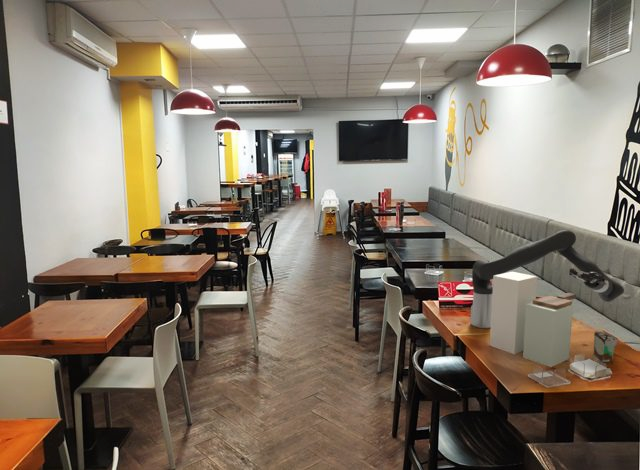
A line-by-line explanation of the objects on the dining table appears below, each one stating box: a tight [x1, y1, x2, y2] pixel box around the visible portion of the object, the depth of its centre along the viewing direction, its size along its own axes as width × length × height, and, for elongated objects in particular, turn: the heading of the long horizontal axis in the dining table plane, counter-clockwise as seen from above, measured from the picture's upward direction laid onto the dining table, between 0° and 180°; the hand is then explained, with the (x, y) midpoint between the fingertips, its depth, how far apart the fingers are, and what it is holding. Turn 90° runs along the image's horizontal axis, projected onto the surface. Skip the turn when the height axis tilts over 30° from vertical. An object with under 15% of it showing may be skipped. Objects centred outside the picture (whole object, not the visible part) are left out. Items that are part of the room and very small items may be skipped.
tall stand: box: [489, 271, 538, 355], centre depth 204 cm, size 12×14×32 cm
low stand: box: [522, 302, 574, 368], centre depth 192 cm, size 12×14×23 cm
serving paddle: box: [533, 292, 577, 309], centre depth 194 cm, size 10×22×2 cm, turn 125°
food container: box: [593, 330, 618, 365], centre depth 192 cm, size 12×6×10 cm, turn 168°
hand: (580, 272), depth 202 cm, fingers open, 8 cm apart
